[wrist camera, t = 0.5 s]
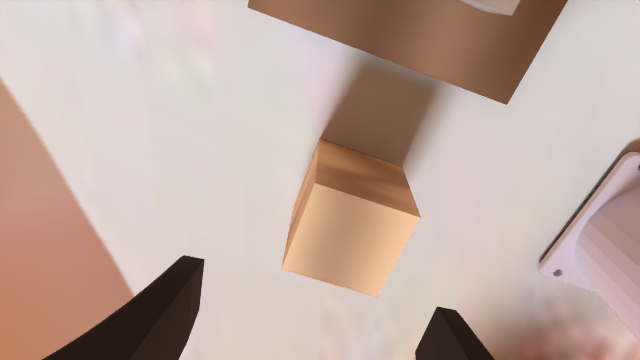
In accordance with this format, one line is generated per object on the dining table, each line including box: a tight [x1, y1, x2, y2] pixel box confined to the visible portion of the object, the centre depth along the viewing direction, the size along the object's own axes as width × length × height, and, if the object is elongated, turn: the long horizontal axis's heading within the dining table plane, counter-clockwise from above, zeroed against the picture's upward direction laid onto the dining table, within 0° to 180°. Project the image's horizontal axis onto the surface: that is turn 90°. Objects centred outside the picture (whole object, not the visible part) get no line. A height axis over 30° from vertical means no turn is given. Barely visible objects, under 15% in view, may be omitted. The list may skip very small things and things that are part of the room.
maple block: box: [282, 139, 421, 297], centre depth 18 cm, size 4×4×5 cm
